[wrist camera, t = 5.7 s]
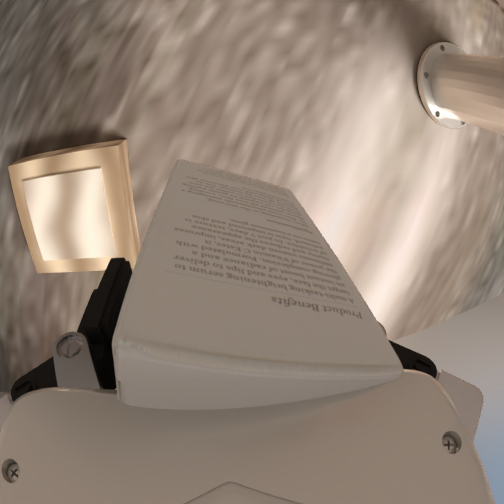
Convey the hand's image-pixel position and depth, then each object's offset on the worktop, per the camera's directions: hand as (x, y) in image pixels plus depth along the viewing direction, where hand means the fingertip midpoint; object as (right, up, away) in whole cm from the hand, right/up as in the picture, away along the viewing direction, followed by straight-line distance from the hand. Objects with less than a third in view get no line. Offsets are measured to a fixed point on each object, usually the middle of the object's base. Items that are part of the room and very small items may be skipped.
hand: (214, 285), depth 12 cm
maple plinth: (-19, +7, +18) cm, 27 cm away
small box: (0, +2, +3) cm, 4 cm away
